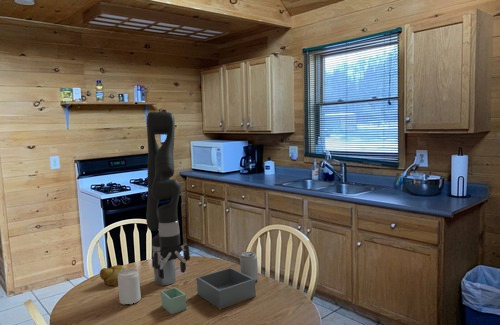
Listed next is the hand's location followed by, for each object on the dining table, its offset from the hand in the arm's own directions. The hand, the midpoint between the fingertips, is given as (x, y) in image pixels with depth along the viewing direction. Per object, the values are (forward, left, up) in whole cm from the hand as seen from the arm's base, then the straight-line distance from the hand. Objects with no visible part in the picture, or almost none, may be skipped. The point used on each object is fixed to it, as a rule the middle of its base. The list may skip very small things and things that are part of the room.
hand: (172, 275), depth 150 cm
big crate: (+4, +21, -13) cm, 25 cm away
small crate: (0, 0, -13) cm, 13 cm away
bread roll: (-42, -9, -13) cm, 45 cm away
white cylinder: (-17, -11, -13) cm, 24 cm away
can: (-2, +37, -13) cm, 39 cm away
